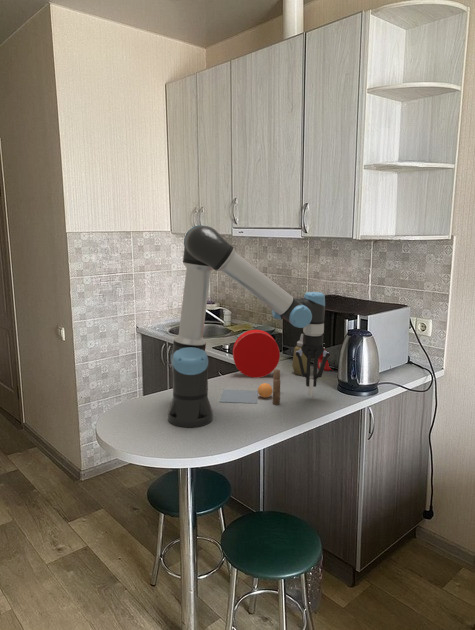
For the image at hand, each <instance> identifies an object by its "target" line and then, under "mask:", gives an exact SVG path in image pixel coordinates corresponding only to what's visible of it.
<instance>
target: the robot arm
mask: <svg viewBox="0 0 475 630" xmlns="http://www.w3.org/2000/svg"><path fill="white" fill-rule="evenodd" d="M183 245H184V246H183V247H184V248H183V258H182V264H183V265H184V266H185V268H186V270H185V277H184V278H185V279H184V280H185V281H184V286H183V287H184V288H183V293H182V294H183V295H182V304H181V312H180V321H179V329H178V334H177V335H176V336H175V337H174V338H173V345H172V350H171V353H170V364H171V370H172V399H171V403H170V406H169V408H168V412H167V421H168V422H169V423H170V424H171V425H174V426H176V427H182V428H199V427H202V426H203V427H204V426H206V425H208V424H210V423H211V422H212V421H213V419H214V416H213V415H214V413H213V411H214V410H213V409H212V406H211V402H210V399H209V395H208V394H209V392H208V390H209V384H208V381H209V378H208V377H209V376H208V375H209V372H208V371H209V369H208V368H209V357H208V353H207V352H206V347H207V341H206V340H205V339H204V337H203V336H204V328H205V323H206V322H205V320H206V314H207V312H206V311H207V304H208V297H209V289H210V283H211V282H210V281H211V275H212V274H211V273H212V271H213V270H215V271H216V272H221V273H223V274H224V275H226V276H227V277H229V278H230V279H231V280H232V281H234V282H236V284H238V285H240V286H241V287H242V288H244V290H246V291H247V292H248V293H250V294H251V295H253V296H254V297H255V298H257V299H258V300H259V301H260V302H262V303H264V304H265V306H267V307H268V308H270V309H271V316H272V318H273V319H275V320H286V322H289V323H290V325H291V326H293V327H295V328H299V329H302V330H303V333H302V334H303V345H302V347H301V349H300V350H299V351H296V352H295V353H296V356H297V357H298V360H299V364H300V369H301V374H302V375H301V377H303V378H305V386H306V387H308V396H310V397H313V396H314V387H315V388H316V387H317V382H318V378H322V376H323V373H324V371H323V370H324V367H325V364H326V360H327V358H328V357H329V356H330V354H329V352H327V351H325V350H324V347H323V344H324V334H325V332H324V331H325V312H326V296H325V294H324V293H323V292H320V291H319V292H318V291H307V292H305V293H304V295H303V297H298V298H296V297H294V296H292V295H291V294H290V293H289V292H287V291H286V290H285V289H283V288H282V287H281V286H279V285H278V284H277V283H275V282H274V281H273V280H272V279H270V278H269V277H268V276H266V275H265V274H264V273H263V272H261V270H259V269H257V267H255V266H254V265H252V264H251V263H250V262H248V261H247V260H246V259H245V258H243V257H242V256H241V255H239V254H238V253H237V252H236V251H235V247H234V246H233V245H232V244H230V243H229V242H228V241H227V240H226V239H225V238H224V237H223V236H222V235H221V234H220V233H219V232H218V231H217V230H216V229H215V228H213V227H211V226H208V225H205V224H204V225H202V224H201V225H200V224H199V225H195V226H193V227H192V228H190V229H188V231H187V232H186V234H185V236H184V239H183ZM302 352H303V353H304V355H305V356H306V357H307V369H306V373H305V372H304V367H303V363H302V358H301V356H302ZM322 353H323V359H322V362H321V365H320V369H318V358H319V357H320V355H321V354H322ZM312 359H313V368H312V369H313V373H312V376H311V366H310V365H311V360H312Z"/></svg>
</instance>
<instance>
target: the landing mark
mask: <svg viewBox="0 0 475 630" xmlns="http://www.w3.org/2000/svg"><path fill="white" fill-rule="evenodd" d="M258 399H259V393H258V390H254V389H253V390H252V389H251V390H249V389H227V388H224V389H223V390H222V393H221V395H220V400H219V403H233V404H234V403H235V404H255V405H256V404H258Z"/></svg>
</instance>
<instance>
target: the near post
mask: <svg viewBox="0 0 475 630" xmlns="http://www.w3.org/2000/svg"><path fill="white" fill-rule="evenodd" d="M272 384H273V385H272V405H274V406H280V405H281V404H280V403H281V379H280V380H279V379H275V380H273V381H272Z"/></svg>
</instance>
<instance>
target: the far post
mask: <svg viewBox="0 0 475 630" xmlns="http://www.w3.org/2000/svg"><path fill="white" fill-rule="evenodd" d="M272 376H273V380H275V379H279V380H280V381H281V370H280V369H276V368H275V369H274V370H273V375H272Z"/></svg>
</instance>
